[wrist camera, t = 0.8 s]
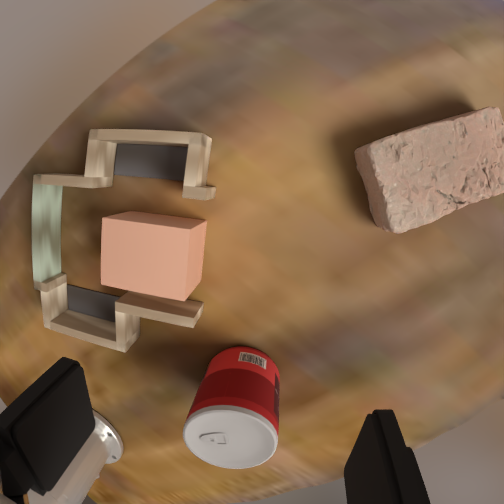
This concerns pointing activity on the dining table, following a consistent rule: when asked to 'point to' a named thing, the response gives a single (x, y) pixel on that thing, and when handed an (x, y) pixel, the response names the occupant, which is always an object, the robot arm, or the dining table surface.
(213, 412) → the canned food
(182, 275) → the block
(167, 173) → the channel
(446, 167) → the brick
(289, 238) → the dining table surface
